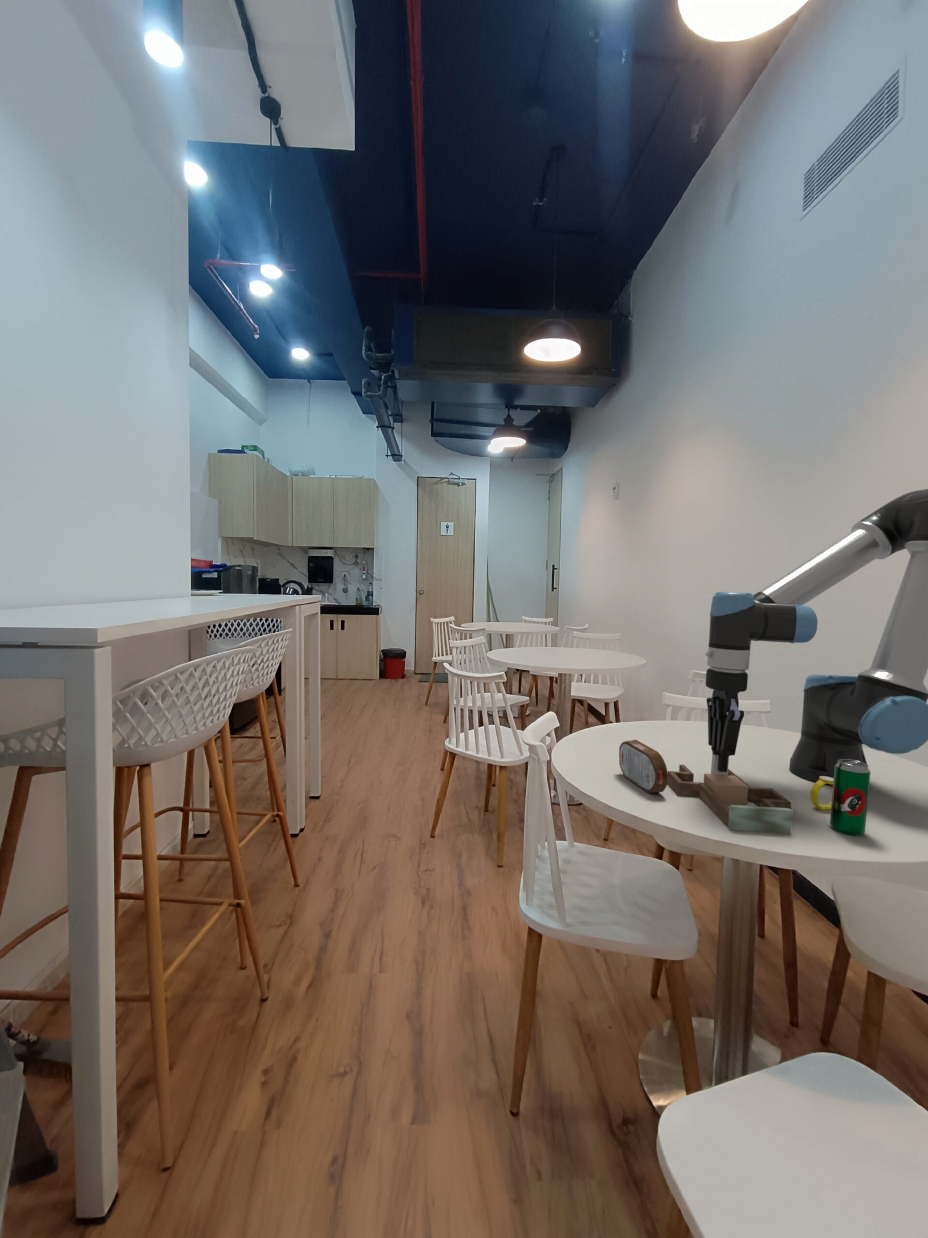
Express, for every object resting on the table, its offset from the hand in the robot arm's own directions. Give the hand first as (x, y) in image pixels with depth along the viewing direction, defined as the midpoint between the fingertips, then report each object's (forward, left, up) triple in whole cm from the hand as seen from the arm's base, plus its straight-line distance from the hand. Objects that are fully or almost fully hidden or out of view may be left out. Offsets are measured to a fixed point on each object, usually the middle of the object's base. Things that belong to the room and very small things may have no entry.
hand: (718, 785), depth 112 cm
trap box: (0, +5, -2) cm, 5 cm away
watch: (-18, +5, -2) cm, 19 cm away
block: (0, +4, -2) cm, 4 cm away
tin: (+15, -2, -2) cm, 15 cm away
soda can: (-16, +15, -2) cm, 22 cm away
